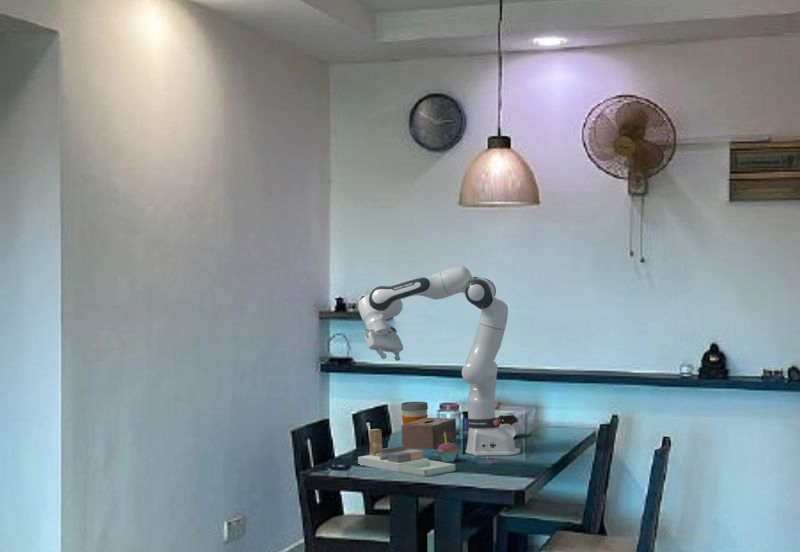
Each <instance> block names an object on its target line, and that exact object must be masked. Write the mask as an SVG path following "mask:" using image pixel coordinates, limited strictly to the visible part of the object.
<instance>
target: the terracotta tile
mask: <svg viewBox="0 0 800 552" xmlns="http://www.w3.org/2000/svg"><path fill="white" fill-rule="evenodd" d="M401 452H407V453H410V461H412V460H418V459H423V458H424V453H423V450H422V449H413V448H410V449H405V451H401Z"/></svg>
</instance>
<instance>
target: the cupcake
mask: <svg viewBox="0 0 800 552" xmlns="http://www.w3.org/2000/svg"><path fill="white" fill-rule="evenodd" d="M444 432H445V431H444ZM444 436H445V443H444V444H441V445H439V447H438V448H436V449H437V453H438V454H439V455H440V457H441V460H442V461H441V462H444V463H451V462H454V461H455V460H456V457H457V454H458V453H459V451H460V450H459V446H458V445H457V444H455V443H454V442H451V443H447V439H446V433H444Z"/></svg>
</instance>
